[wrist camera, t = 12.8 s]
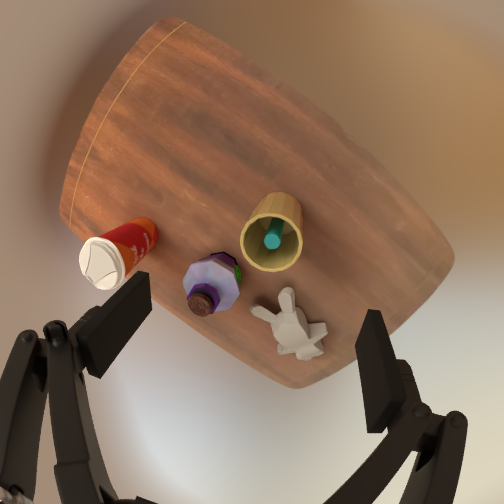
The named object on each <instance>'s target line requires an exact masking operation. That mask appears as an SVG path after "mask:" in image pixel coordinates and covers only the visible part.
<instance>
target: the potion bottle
mask: <svg viewBox="0 0 504 504" xmlns="http://www.w3.org/2000/svg"><path fill="white" fill-rule="evenodd" d="M182 283H183V286H184V288H185V291H186V293H187V300H188V306H189V308H190V310H191V311H192V312H193V313H194V314H196V315H198V316H201V317H203V316H207V315H208V314H213V313H214V312H215V311H224V310H229V309H230V308H231V306H232V305H233V303H234V302H235V300H236V299H237V297H238V296H239V295H240V285H239V284H240V283H241V272H240V269H239V267H238V265H237V262H236V259H235V258H234V257H232V256H230V255H229V254H227V253H225V252H219V253H214V254H211V255H210V256H209V257H207V258H205V259H201V260H199V261H197V262H195V263H193V264H191V265H190V267H189V269H188V271H187V273H186V275H185V277H184V279H183V280H182Z"/></svg>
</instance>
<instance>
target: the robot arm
mask: <svg viewBox="0 0 504 504" xmlns="http://www.w3.org/2000/svg"><path fill="white" fill-rule="evenodd" d="M151 311H152V303H151V292H150V280H149V273H147V272H142V271H137V272H136V273H135V274H134V275H133V276H132V277H131V278H130V279H129V280H128V281H127V282H126V283H125V284H124V285H123V286H122V287H121V288H120V289H119V290H118V291H117V292H116V293H115V294H114V295H113V296H111V297H110V298H109V299H108V300H107V301H106V303H104V305H102V306H101V307H100V306H95V307H93V308H91V309H90V310H88V311H87V312H86V313H85V314H84V316H82V317H81V318H80V320H78V321H77V322H76V323H75V324H74V325H73V326H72V327H71V328H70V329H69V330H67V327H66V324H65V323H64V322H63V321H60V320H54V321H50V322H49V323H47V324H46V325H45V326H44V328H43V332H44V335H45V338H46V339H41V338H38V335H37V333H36V332H35V331H34V330H25V331H23V332H21V333H20V334H19V335H18V337H17V339H16V341H15V344H14V346H13V348H12V350H11V353H10V355H9V358H8V361H7V363H6V366H5V369H4V371H3V374H2V376H1V379H0V504H34V503H33V498H34V494H35V486H36V472H37V460H38V459H37V458H38V450H39V441H40V434H41V426H42V421H43V415H44V409H45V403H46V399H47V394H48V393H49V406H50V416H51V425H52V433H53V439H54V446H55V451H56V458H57V464H56V465H55V466H54V474H55V478H56V483H57V487H58V491H59V495H60V499H61V503H62V504H157V503H154V502H152V501H149V500H146V499H143V498H141V497H138V496H137V497H136V499H135V500H132V499H120V500H119V498H118V496H117V494H116V492H115V490H114V489H113V487H112V485H111V482H110V480H109V477H108V474H107V471H106V468H105V464H104V461H103V458H102V455H101V452H100V448H99V444H98V440H97V437H96V433H95V429H94V425H93V420H92V416H91V412H90V408H89V402H88V397H87V391H86V386H85V380H84V375H83V373H82V371H83V369H84V368H85V367H86V368H87V371H88V373H89V374H90V375H92V376H94V377H97V378H99V379H101V377H102V376H103V375H104V373H105V372H106V370H107V369H108V368H109V366H110V365H111V364H112V362H113V361H114V360H115V358H116V357H117V355H118V354H119V353H120V351H121V350H122V349H123V347H124V346H125V345H126V343H127V342H128V341H129V339H130V338H131V337H132V335H133V334H134V333H135V331H136V330H137V329H138V328H139V326H140V325H141V324H142V322H143V321H144V320H145V318H146V317H147V316H148V315H149V313H150V312H151ZM355 349H356V354H357V360H358V366H359V372H360V379H361V386H362V393H363V401H364V408H365V416H366V424H367V433H382V432H383V431H384V430H385V428H386V427H387V429H388V434H387V435H386V437H385V438H384V439H383V440H382V442H381V443H380V444H379V445H378V446H377V448H376V449H375V450H374V452H372V454H371V455H370V456H369V457H368V458H367V459H366V461H365V462H364V463H363V464H362V465H361V466H360V467H359V468H358V469H357V470H356V472H355V473H354V474H353V475H352V476H351V477H350V478H349V479H348V480H347V481H346V482H345V483H344V484H343V485H342V486H341V487H340V488H339V489H338V490H337V491H336V492H335V493H334V494H333V495H332V496H331V497H330V498H329V499H327V500H326V502H324V503H323V504H372V503H373V502H374V501H375V499H376V498H377V497H378V496H379V495H380V493H381V492H382V491H383V490H384V488H385V487H386V486H387V485H388V483H389V482H390V480H391V479H392V478H393V477H394V475H395V474H396V473H397V471H398V470H399V469H400V467H401V466H402V464H403V463H404V461H405V460H406V459H407V457H408V456H409V454H410V452H411V451H416V452H418V454H417V457H416V460H415V463H414V466H413V469H412V472H411V475H410V477H409V480H408V483H407V485H406V488H405V490H404V493H403V495H402V498H401V500H400V503H399V504H453V500H454V496H455V493H456V488H457V485H458V480H459V476H460V471H461V466H462V461H463V454H464V449H465V443H466V436H467V427H468V421H467V418H466V416H464V415H463V414H462V413H461V412H459V411H451V412H449V413H448V414H447V415H446V416H441V415H437V414H434V413H432V411H431V409H430V407H429V406H428V405H426V404H425V403H423V402H422V401H421V398H420V394H419V391H418V388H417V385H416V382H415V379H414V376H413V372H412V369H411V367H410V365H409V364H408V363H407V362H406V361H405V360H400V359H396V357H395V354H394V350H393V347H392V344H391V341H390V338H389V335H388V332H387V329H386V326H385V323H384V320H383V317H382V315H381V312H380V311H379V310H371V309H368V311H367V314H366V317H365V320H364V322H363V325H362V328H361V330H360V333H359V336H358V338H357V341H356V344H355Z"/></svg>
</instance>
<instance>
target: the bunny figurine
mask: <svg viewBox="0 0 504 504" xmlns="http://www.w3.org/2000/svg"><path fill="white" fill-rule="evenodd" d="M278 301H279V304H280V307H281V309H282V311H281V312H279V313H278V314H276V315H274V314H273V313H271V312H270V311H268V310H267V309H265V308H264V307H262V306H260V305H258V304H253V305H251V307H250V311H251V313H252V314H253V315H254V316H256V317H258V318H260V319H263V320H265V321H268V322H270V323H271V327H272V331H273V334H274V337H275V338H276V340H277V341H278V342H279V343H278V350H277V353H278V354H280V355H282V354H288V353H294V352H296V357H297V359H298V360H303V359H304V360H305V361H307V360H309V359H312V358H313V355H314V356H319V355H321V354H323V353H324V347H323V345H322V343H321V340H320V339H321V338H323V337H324V336H326V335H327V334H328V331H327V326H326V324H325V323H313V324H308V323H307V320H306V317H305V315H304V313H303V311H302V310H301V309H300V308H299V307H295V294H294V290H293V289H292V288H290V287H286V288H284V289H282V291H281V292H280V294H279V296H278Z"/></svg>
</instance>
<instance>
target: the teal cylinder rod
mask: <svg viewBox="0 0 504 504" xmlns="http://www.w3.org/2000/svg"><path fill="white" fill-rule="evenodd" d="M284 222H285V220H283V219H281V218H278V217H272V220H271V222H270V225H269V228H268V231H267V234H266V236H265V239H264V243H265V245H266V247H267V248H269V249H276V248H278V247H279V245H280V242H281V237H282V232H283V227H284Z"/></svg>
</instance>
